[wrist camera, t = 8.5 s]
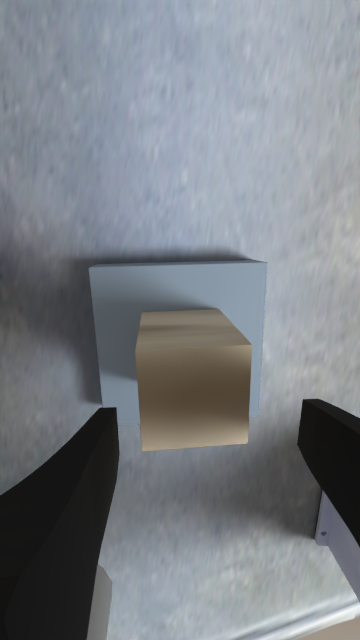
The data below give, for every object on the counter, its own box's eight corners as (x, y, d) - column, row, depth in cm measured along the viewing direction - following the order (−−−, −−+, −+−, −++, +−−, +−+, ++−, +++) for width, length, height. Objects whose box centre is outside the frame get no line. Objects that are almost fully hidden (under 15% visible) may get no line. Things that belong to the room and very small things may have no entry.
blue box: (244, 393, 22) (258, 416, 19) (111, 401, 21) (104, 426, 18) (250, 259, 19) (267, 262, 17) (98, 263, 19) (88, 267, 16)
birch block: (218, 378, 18) (247, 443, 12) (146, 383, 18) (142, 451, 12) (219, 309, 17) (252, 344, 11) (142, 312, 17) (135, 350, 11)
